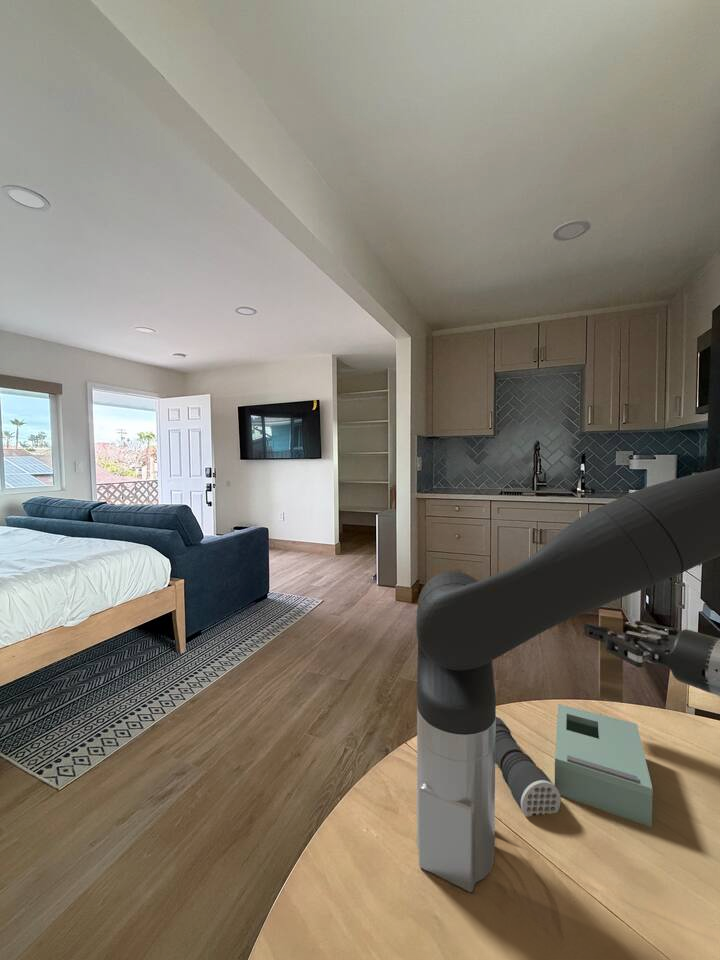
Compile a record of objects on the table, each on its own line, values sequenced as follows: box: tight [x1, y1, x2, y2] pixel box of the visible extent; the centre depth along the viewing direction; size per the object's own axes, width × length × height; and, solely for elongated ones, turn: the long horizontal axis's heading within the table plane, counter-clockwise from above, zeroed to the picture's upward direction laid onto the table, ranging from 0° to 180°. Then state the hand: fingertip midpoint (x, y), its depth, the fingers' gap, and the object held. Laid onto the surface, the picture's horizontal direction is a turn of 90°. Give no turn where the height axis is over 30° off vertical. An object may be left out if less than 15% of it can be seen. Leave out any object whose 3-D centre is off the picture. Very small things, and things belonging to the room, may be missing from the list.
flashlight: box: [495, 716, 562, 818], centre depth 59 cm, size 15×5×5 cm, turn 8°
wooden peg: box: [598, 608, 624, 704], centre depth 67 cm, size 3×3×14 cm
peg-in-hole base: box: [554, 703, 654, 828], centre depth 59 cm, size 14×11×6 cm
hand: (593, 625), depth 69 cm, fingers closed on wooden peg, 4 cm apart
